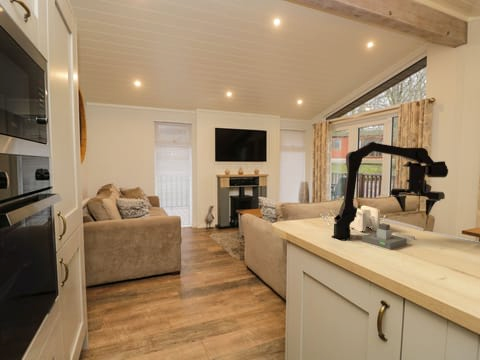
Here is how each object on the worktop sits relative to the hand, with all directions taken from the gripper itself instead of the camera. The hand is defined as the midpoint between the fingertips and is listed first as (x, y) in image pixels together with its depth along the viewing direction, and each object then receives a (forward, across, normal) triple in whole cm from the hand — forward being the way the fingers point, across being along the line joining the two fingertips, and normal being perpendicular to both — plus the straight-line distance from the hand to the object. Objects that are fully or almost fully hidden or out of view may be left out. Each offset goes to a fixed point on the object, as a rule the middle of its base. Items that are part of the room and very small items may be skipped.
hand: (415, 213), depth 110 cm
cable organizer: (+13, +24, +1) cm, 27 cm away
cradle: (+12, +5, +1) cm, 14 cm away
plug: (+12, +5, +14) cm, 19 cm away
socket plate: (+12, +5, +14) cm, 19 cm away
